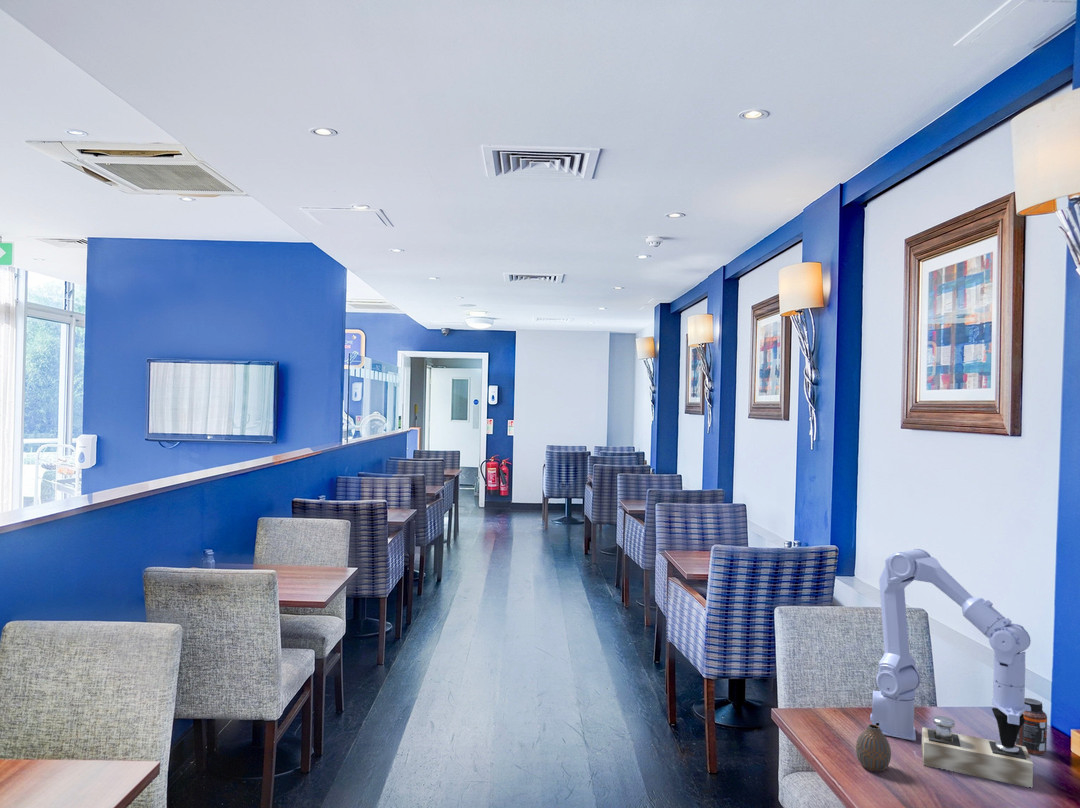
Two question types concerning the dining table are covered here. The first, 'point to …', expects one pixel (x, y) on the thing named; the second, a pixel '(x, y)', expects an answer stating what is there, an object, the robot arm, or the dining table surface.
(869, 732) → the vase
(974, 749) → the birch bar
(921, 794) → the dining table surface
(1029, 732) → the supplement bottle
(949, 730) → the dowel left
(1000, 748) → the dowel right
